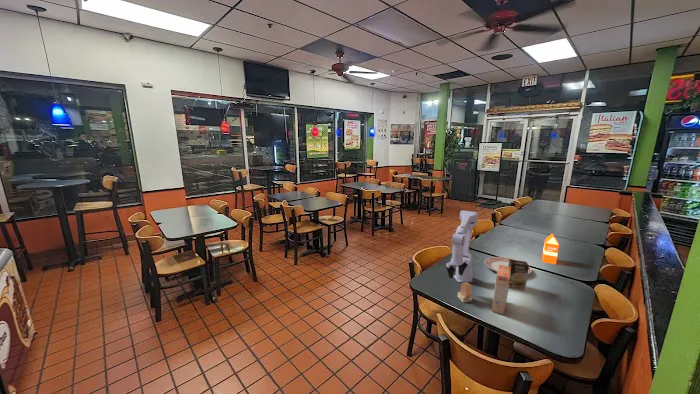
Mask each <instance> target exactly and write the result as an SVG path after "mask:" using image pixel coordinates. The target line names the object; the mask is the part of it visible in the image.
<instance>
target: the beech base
mask: <svg viewBox="0 0 700 394" xmlns="http://www.w3.org/2000/svg"><path fill="white" fill-rule="evenodd" d="M457 298H458V299H459V300H460V301H461V302H462V303H470V302H473V299H474V298H473V295H471V296H467V297H465V296H463V295H462V294H461V293H460V291H457Z"/></svg>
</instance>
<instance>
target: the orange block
mask: <svg viewBox="0 0 700 394" xmlns="http://www.w3.org/2000/svg"><path fill="white" fill-rule="evenodd" d="M460 284H461V285H460V290H459V292H460V293H461V294H462V295H463V296H465V297H467V296H472V290H473V285H472V284H471V283H470V282H460Z"/></svg>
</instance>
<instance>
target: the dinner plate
mask: <svg viewBox="0 0 700 394" xmlns="http://www.w3.org/2000/svg"><path fill="white" fill-rule="evenodd" d="M509 259H511V260H516V259H515V258H510V257H504V256H493V257H488V258H486V259H485V260H484V264H485V266H486V267H488V269H491V270H492V271H494V272H496V273H497V272H498V268H499V265H503V266H508V264H509ZM531 273H532V268H531V267H530V266H529V269H528V275H529V274H531Z"/></svg>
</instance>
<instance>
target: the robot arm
mask: <svg viewBox="0 0 700 394" xmlns="http://www.w3.org/2000/svg"><path fill="white" fill-rule="evenodd" d="M478 219H479V212H477V211H472V210H471V211H469V210H463V209H461V210H460V213H459V221H460V225H458V226H457V228H456V231H455V233H453V234H452V237H451V243H452V244H451V246H452V251H451V252H452V253H451V258H450V261H448V262H447V263H445V269H446V270H447V273H448V274H447V275H448V278H450V279H453V278H454V279H455V280H456V281H457V283H465V282H468V283H470V282H471V283H472V282H473V274H474V268H473V267H472V265H473V255H472V254H471V252H470V251H469V250H470V243H471V237H472V231H473V228H474V226H477V224H478ZM454 267H455V268H454ZM454 273H455V274H454Z"/></svg>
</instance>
